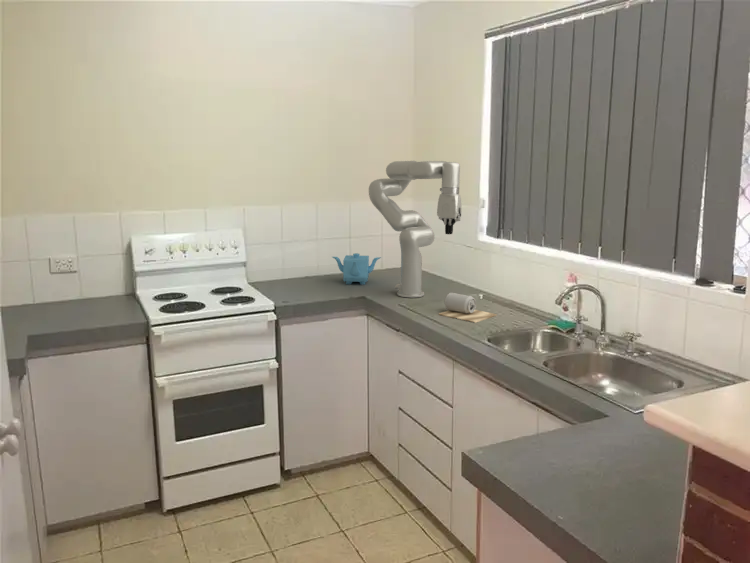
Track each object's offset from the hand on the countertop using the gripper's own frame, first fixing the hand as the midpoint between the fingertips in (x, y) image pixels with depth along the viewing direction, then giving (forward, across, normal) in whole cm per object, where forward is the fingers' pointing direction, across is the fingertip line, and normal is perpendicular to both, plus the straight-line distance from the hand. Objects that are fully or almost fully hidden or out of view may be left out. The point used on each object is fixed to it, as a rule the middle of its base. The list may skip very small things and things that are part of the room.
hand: (448, 233), depth 291 cm
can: (+27, +8, -10) cm, 30 cm away
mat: (+31, +18, -10) cm, 37 cm away
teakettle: (+31, -59, +4) cm, 67 cm away
